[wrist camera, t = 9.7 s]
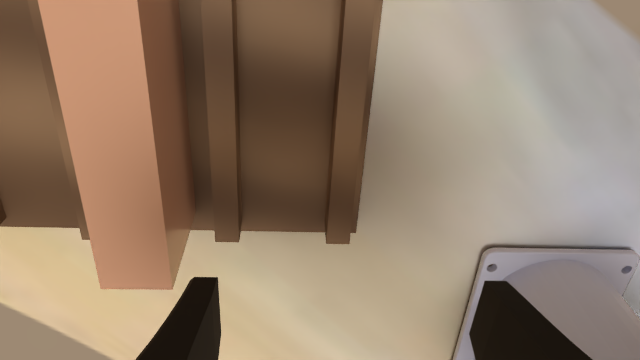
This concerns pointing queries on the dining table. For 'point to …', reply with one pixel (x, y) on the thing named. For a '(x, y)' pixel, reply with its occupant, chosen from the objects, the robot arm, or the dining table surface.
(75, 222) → the rack
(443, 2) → the dining table surface
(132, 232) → the clay block
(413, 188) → the dining table surface
